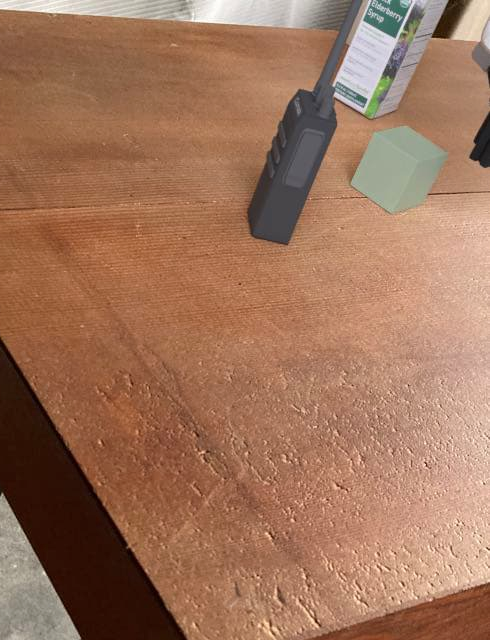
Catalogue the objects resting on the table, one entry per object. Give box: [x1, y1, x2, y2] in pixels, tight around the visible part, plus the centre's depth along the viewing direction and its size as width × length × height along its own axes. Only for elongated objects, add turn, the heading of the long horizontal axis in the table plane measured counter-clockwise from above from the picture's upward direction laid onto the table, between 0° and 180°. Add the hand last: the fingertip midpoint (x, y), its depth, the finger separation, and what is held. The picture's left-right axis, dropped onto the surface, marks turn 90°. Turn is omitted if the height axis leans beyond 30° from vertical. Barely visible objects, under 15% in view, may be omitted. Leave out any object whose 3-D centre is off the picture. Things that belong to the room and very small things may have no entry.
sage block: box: [349, 125, 450, 215], centre depth 87 cm, size 5×5×5 cm
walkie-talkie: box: [247, 0, 363, 246], centre depth 72 cm, size 5×3×20 cm
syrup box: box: [331, 0, 449, 120], centre depth 97 cm, size 6×6×14 cm
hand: (485, 160), depth 81 cm, fingers closed
